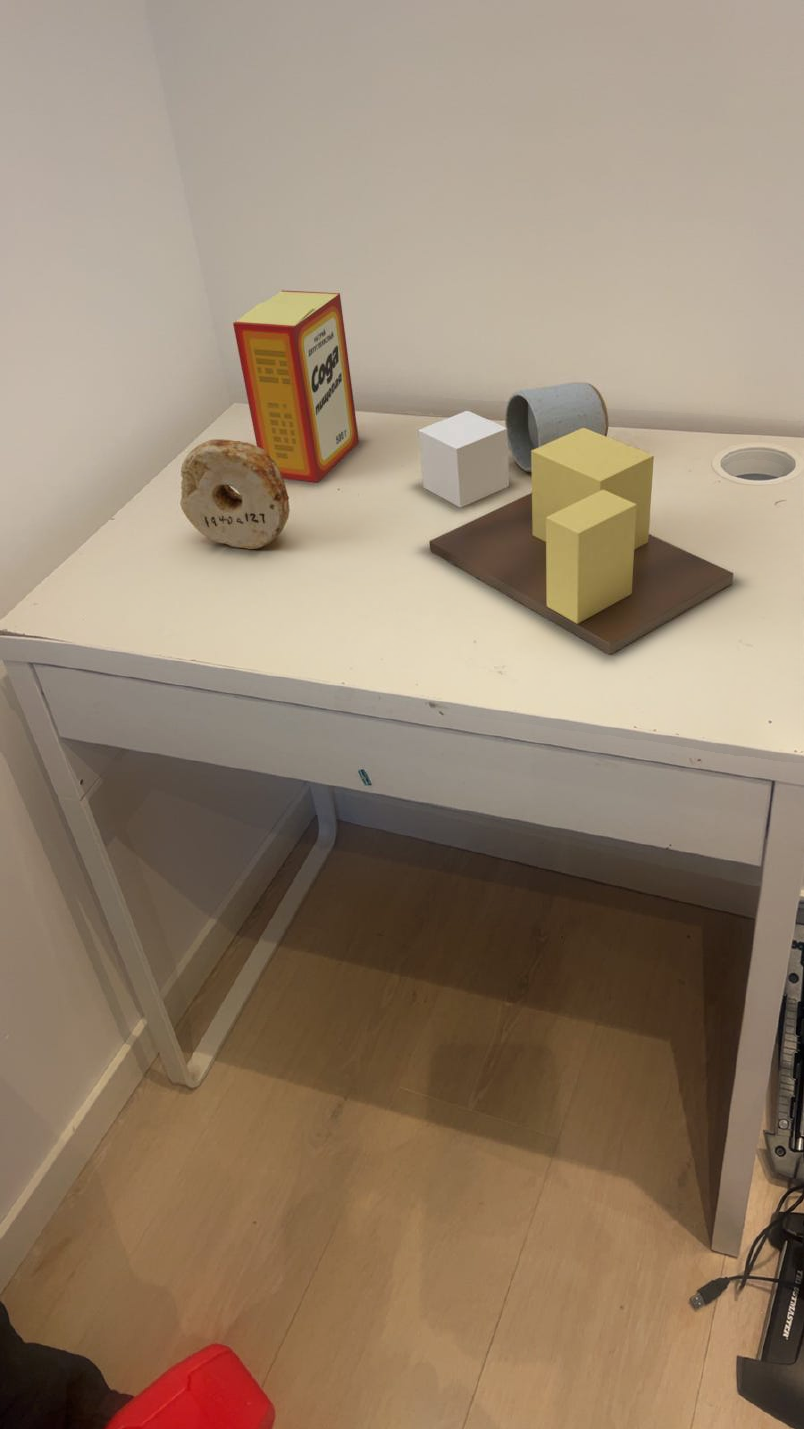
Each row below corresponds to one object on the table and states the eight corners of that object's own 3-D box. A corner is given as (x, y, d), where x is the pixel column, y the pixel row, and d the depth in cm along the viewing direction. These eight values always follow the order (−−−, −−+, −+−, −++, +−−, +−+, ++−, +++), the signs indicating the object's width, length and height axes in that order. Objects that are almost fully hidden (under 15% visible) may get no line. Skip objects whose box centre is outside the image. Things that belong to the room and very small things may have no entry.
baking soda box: (306, 436, 114) (281, 286, 104) (358, 442, 111) (339, 289, 101) (262, 475, 107) (232, 319, 97) (317, 482, 105) (292, 323, 95)
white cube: (470, 467, 105) (467, 410, 101) (509, 486, 101) (507, 428, 97) (422, 487, 102) (417, 429, 98) (460, 508, 98) (456, 448, 94)
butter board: (732, 583, 84) (734, 572, 83) (610, 655, 78) (610, 644, 78) (545, 495, 98) (545, 486, 98) (429, 550, 93) (429, 540, 92)
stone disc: (303, 536, 97) (286, 436, 90) (286, 557, 94) (267, 454, 88) (207, 525, 100) (183, 428, 94) (187, 545, 98) (162, 445, 91)
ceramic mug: (612, 462, 102) (615, 386, 97) (539, 484, 100) (538, 407, 95) (559, 426, 110) (559, 355, 105) (490, 446, 108) (486, 373, 103)
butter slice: (632, 594, 82) (637, 503, 77) (577, 624, 80) (578, 533, 75) (600, 577, 85) (603, 488, 80) (546, 606, 82) (545, 516, 77)
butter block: (648, 542, 88) (654, 455, 83) (598, 569, 86) (600, 480, 81) (581, 511, 93) (583, 427, 88) (532, 535, 91) (530, 450, 86)
